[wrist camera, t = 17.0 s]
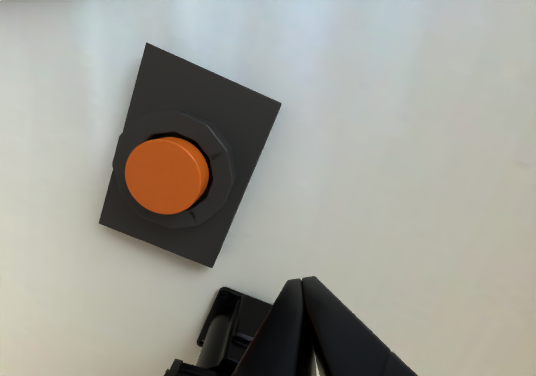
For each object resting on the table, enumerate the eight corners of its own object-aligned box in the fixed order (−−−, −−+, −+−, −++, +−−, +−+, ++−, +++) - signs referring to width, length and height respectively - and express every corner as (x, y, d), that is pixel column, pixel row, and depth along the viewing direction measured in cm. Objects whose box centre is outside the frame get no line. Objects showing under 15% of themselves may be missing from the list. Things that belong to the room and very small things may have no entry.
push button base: (217, 256, 21) (205, 283, 18) (112, 215, 20) (80, 234, 17) (281, 104, 18) (282, 101, 14) (158, 49, 17) (129, 32, 14)
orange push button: (196, 215, 17) (186, 226, 15) (132, 189, 17) (115, 197, 15) (219, 154, 16) (211, 158, 14) (151, 125, 15) (135, 126, 14)
